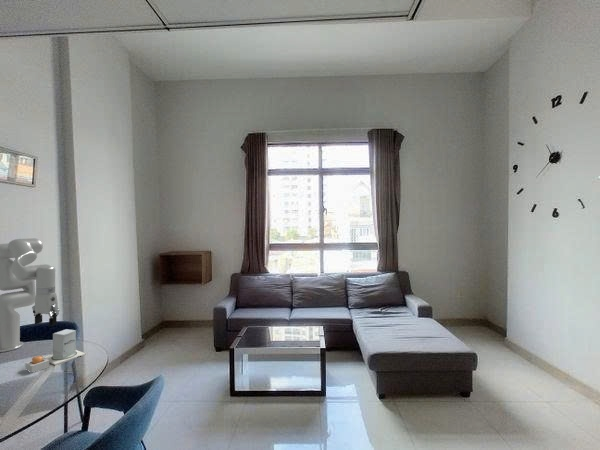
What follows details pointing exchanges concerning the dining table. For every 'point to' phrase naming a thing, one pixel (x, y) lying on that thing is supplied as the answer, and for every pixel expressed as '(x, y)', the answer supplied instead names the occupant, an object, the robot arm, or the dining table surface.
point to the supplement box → (64, 343)
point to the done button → (37, 359)
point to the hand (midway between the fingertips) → (45, 324)
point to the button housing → (37, 365)
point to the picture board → (61, 360)
